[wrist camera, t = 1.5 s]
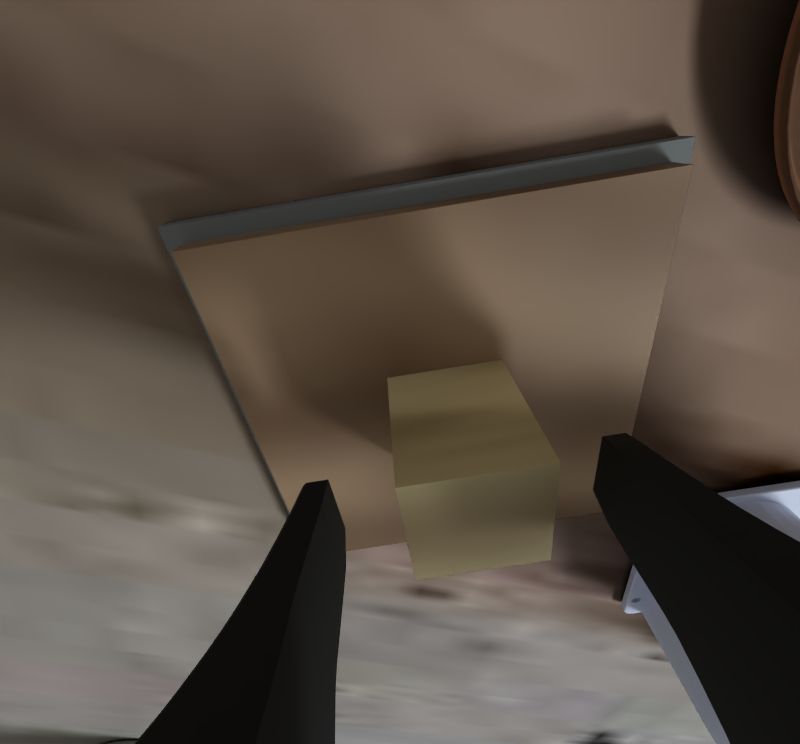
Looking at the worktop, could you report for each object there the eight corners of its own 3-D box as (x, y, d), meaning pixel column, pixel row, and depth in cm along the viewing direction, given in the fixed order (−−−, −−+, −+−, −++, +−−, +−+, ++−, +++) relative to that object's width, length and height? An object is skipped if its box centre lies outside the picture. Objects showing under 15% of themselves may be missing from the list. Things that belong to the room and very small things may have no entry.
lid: (605, 495, 17) (686, 622, 13) (311, 539, 17) (292, 679, 13) (671, 161, 10) (898, 189, 6) (183, 243, 11) (50, 328, 6)
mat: (608, 490, 18) (615, 501, 17) (305, 536, 18) (303, 548, 18) (680, 136, 10) (696, 136, 10) (166, 222, 11) (157, 227, 10)
